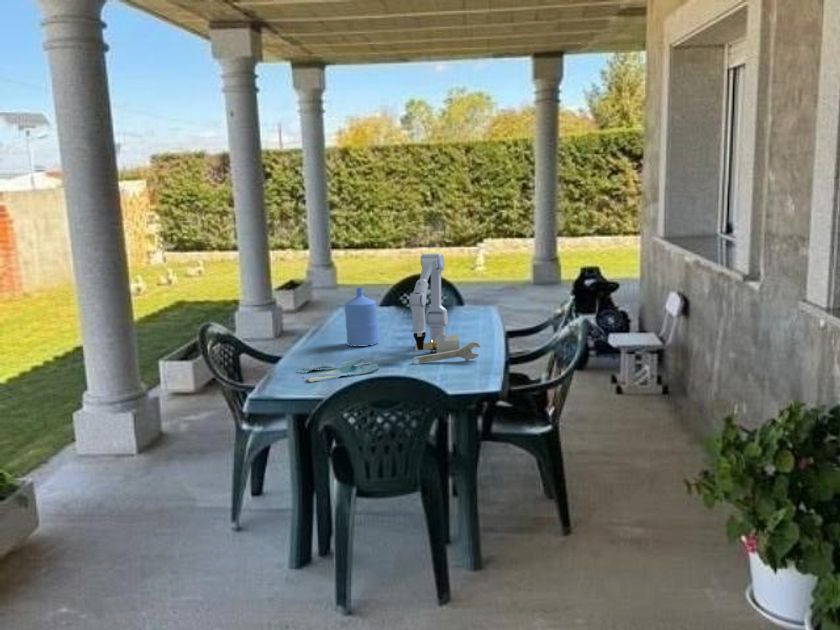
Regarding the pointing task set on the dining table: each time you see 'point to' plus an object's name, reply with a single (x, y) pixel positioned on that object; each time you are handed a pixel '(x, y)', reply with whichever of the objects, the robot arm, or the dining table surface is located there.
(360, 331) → the water jug
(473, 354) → the wrench
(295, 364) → the dining table surface
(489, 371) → the dining table surface
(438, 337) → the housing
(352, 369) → the rubber gloves
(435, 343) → the gold trophy
